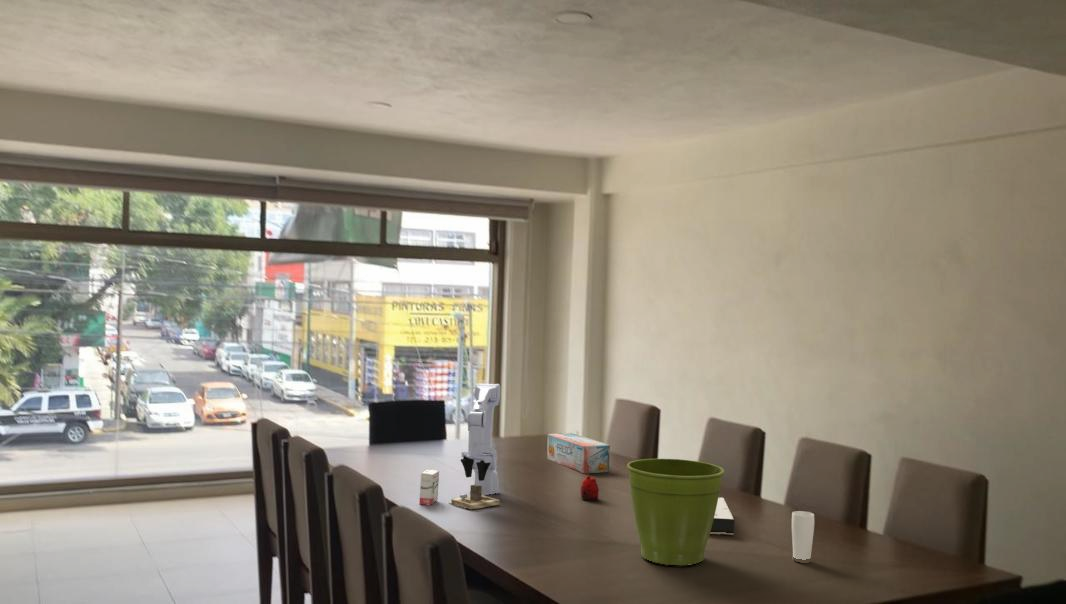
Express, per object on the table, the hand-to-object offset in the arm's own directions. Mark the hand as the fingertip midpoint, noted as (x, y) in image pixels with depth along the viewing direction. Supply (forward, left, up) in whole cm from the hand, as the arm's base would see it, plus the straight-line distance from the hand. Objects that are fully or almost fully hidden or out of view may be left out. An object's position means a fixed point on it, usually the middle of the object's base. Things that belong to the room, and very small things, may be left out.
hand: (475, 478), depth 350 cm
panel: (0, +1, -9) cm, 9 cm away
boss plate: (0, -2, -10) cm, 10 cm away
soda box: (-90, -33, -10) cm, 97 cm away
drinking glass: (-33, +119, -10) cm, 124 cm away
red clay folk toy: (-42, +20, -10) cm, 48 cm away
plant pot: (-3, +92, -10) cm, 93 cm away
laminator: (-51, +73, -10) cm, 89 cm away
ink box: (+12, -13, -10) cm, 20 cm away
